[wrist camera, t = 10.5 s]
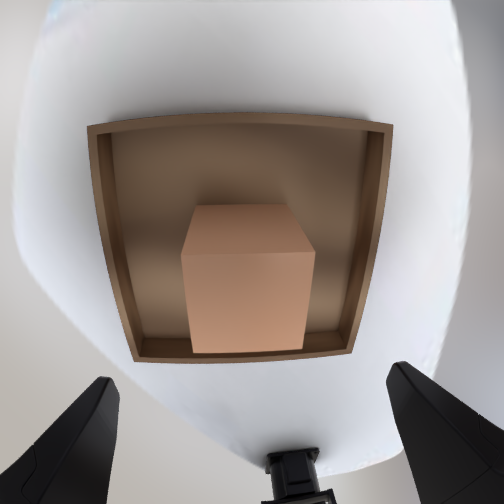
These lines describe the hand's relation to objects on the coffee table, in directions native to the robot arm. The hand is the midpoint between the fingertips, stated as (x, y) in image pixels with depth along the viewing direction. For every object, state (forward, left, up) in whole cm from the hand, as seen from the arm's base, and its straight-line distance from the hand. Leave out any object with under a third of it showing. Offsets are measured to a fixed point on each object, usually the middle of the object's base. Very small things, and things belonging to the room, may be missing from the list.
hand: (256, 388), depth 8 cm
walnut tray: (0, 0, -11) cm, 11 cm away
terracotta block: (0, 0, -10) cm, 10 cm away
